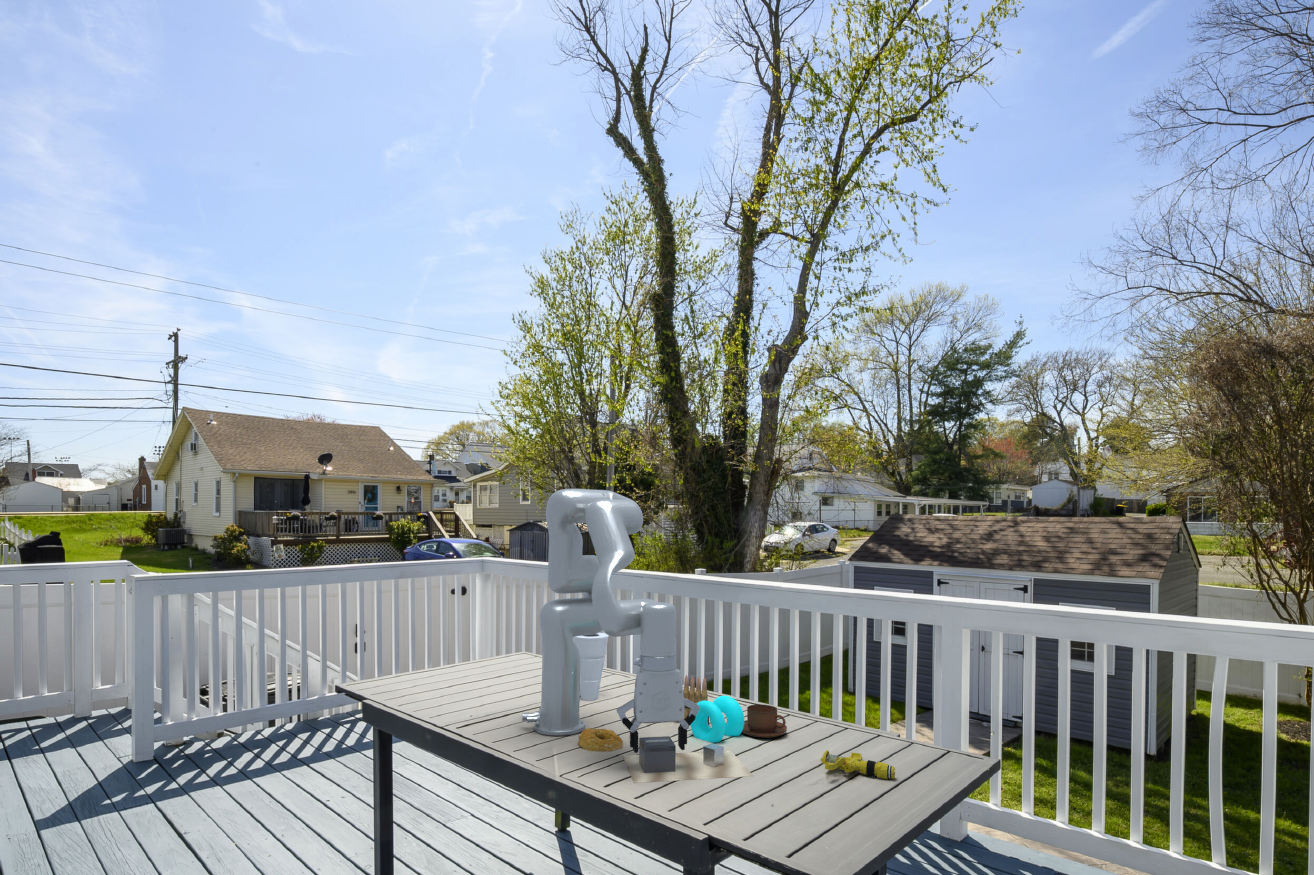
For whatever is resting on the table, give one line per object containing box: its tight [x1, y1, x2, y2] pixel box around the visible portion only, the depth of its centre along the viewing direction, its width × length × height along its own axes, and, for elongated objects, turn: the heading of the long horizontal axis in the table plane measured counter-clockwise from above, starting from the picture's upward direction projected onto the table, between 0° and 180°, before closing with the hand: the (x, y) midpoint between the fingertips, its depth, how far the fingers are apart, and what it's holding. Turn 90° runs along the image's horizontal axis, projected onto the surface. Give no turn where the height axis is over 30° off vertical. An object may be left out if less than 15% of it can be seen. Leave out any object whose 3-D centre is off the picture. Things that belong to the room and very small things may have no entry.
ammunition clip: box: [675, 674, 710, 726], centre depth 183 cm, size 11×2×12 cm, turn 60°
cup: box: [572, 632, 610, 702], centre depth 207 cm, size 11×11×18 cm
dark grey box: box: [638, 735, 677, 773], centre depth 146 cm, size 6×6×5 cm
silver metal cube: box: [702, 742, 725, 767], centre depth 148 cm, size 3×3×4 cm
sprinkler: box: [820, 749, 896, 780], centre depth 149 cm, size 19×4×15 cm
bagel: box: [578, 727, 624, 753], centre depth 160 cm, size 10×11×5 cm
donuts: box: [689, 695, 745, 744], centre depth 168 cm, size 10×10×10 cm
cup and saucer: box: [741, 704, 788, 739], centre depth 175 cm, size 12×12×6 cm
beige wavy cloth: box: [622, 750, 754, 784], centre depth 147 cm, size 24×16×2 cm, turn 100°
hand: (658, 749), depth 146 cm, fingers open, 9 cm apart
